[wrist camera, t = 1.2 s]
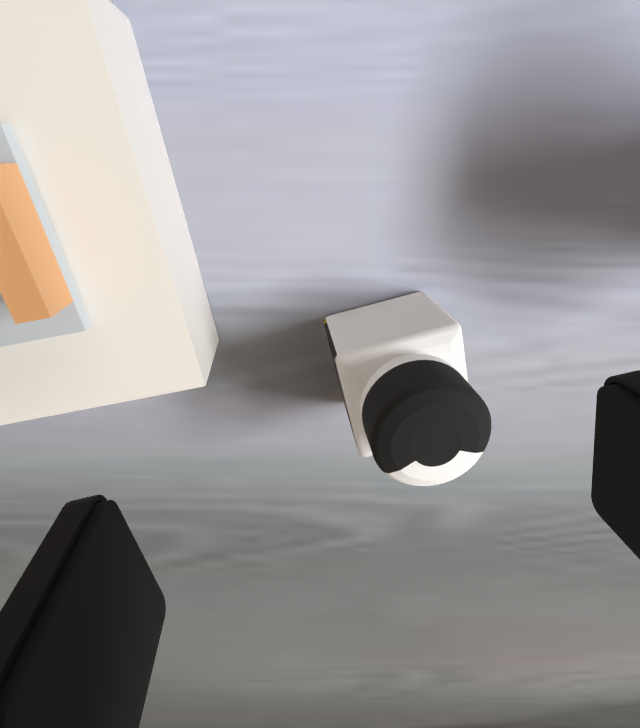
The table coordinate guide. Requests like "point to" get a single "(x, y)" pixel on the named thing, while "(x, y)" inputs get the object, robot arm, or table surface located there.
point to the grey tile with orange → (31, 259)
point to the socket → (100, 215)
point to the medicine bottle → (408, 389)
